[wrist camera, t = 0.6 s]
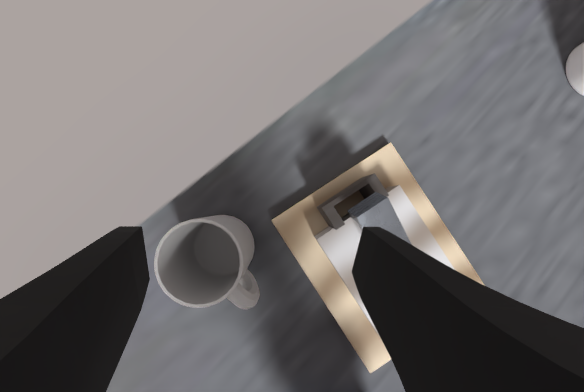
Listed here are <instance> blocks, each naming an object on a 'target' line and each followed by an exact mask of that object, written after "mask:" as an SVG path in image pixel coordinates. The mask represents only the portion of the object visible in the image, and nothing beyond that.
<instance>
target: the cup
mask: <svg viewBox="0 0 584 392" xmlns="http://www.w3.org/2000/svg"><path fill="white" fill-rule="evenodd" d="M254 249H255V245H254V238H253V235H252V232H251V231H250V229H249V228H248V226H247V225H246V224H245V223H243V222H242V221H241V220H239V219H237V218H235V217H233V216H228V215H215V216H209V217H203V218H197V219H191V220H188V221H185V222H182V223H179V224H178V225H176V226H175V227H173V228H172V229H170V230H169V231H168V232H167V233H166V234H165V236H164V237H163V238H162V239H161V241H160V243H159V245H158V247H157V249H156V254H155V259H154V267H155V274H156V277H157V280H158V283H159V285H160V286H161V288H162V289H163V291H164V292H165V294H167V295H168V296H169V297H170V298H171V299H172V300H174V301H175V302H177V303H180V304H182V305H184V306H188V307H194V308H201V307H209V306H212V305H214V304H217V303H219V302H221V301H222V300H224V299H225V298H228V300H229V301H231V302H232V303H233V304H234V305H235V306H237V307H239V308H241V309H249V308H252V307H254V306H255V305H256V304H257V301H258V299H259V296H260V290H259V287H258V284H257V282H256V280H255V278H254V276H253V275H252V273H251V272H250V271H249V270H248V269H247V268H248V266H249V264H250V262H251V260H252V258H253V254H254Z"/></svg>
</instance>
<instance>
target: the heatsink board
mask: <svg viewBox="0 0 584 392" xmlns="http://www.w3.org/2000/svg"><path fill="white" fill-rule="evenodd" d="M375 192H377V193H380V194H382V195H384V196H386V197H388V198H389V200H390V202H391V204H392V206H393V208H394V210H395V212H396V214H397V216H398V218H399V220H400V222H401V224H402V226H403V228H404V230H405V232H406V234H407V236H408V238H409V240H410V242H411V244H412V245H413V246H415V247H416V248H418V249H420V250H421V251H423V252H425V253H426V254H428V255H430V256H431V257H433V258H435V259H437V260H438V261H440V262H442V263H443V264H445V265H447V266H449V267H451V268H452V269H454V270H456V271H458V272H460V273H462V274H463V275H465V276H467V277H469V278H471V279H473V280H475V281H476V282H478V283H480V284H482V285H484V284H483V282H482V281H481V279H480V278H479V276H478V274H477V273H476V271H475V270H474V268H473V267H472V265H471V264H470V262H469V261H468V259H467V258H466V256H465V255H464V253H463V252H462V250H461V249H460V247H459V246H458V244H457V243H456V241H455V239H454V238H453V236H452V235H451V233H450V232H449V230H448V229H447V227H446V226H445V224H444V223H443V221H442V220H441V218H440V217H439V215H438V214H437V212H436V211H435V209H434V207H433V206H432V204H431V203H430V201H429V200H428V198H427V197H426V195H425V194H424V192H423V191H422V189H421V188H420V186H419V185H418V183H417V182H416V180H415V179H414V177H413V176H412V174H411V172H410V171H409V169H408V168H407V166H406V165H405V163H404V162H403V160H402V159H401V157H400V156H399V154H398V153H397V151H396V150H395V148H394V147H393V145H392V144H391V143H389V144H387V145H386V146H384V147H383V148H381V149H380V150H378V151H377V152H375V153H373V154H372V155H370V156H369V157H367V158H366V159H364V160H363V161H361V162H360V163H358V164H357V165H355V166H354V167H352V168H350V169H349V170H347V171H346V172H344V173H343V174H341V175H340V176H338V177H337V178H335V179H334V180H332V181H330V182H329V183H327V184H326V185H324V186H323V187H321V188H320V189H318V190H317V191H315V192H314V193H312V194H310V195H309V196H307V197H306V198H304V199H303V200H301V201H300V202H298V203H297V204H295V205H294V206H292V207H291V208H289V209H287V210H286V211H284V212H283V213H281V214H280V215H278V216H277V217H275V218H274V219H272V220H271V221H272V222H273V224H274V225H275V227H276V229H277V230H278V232H279V233H280V235H281V236H282V238H283V239H284V241H285V242H286V244H287V246H288V247H289V249H290V250H291V252H292V253H293V255H294V256H295V258H296V259H297V261H298V263H299V264H300V266H301V267H302V269H303V270H304V272H305V273H306V275H307V276H308V278H309V279H310V281H311V283H312V284H313V286H314V287H315V289H316V290H317V292H318V293H319V295H320V296H321V298H322V300H323V301H324V303H325V304H326V306H327V307H328V309H329V310H330V312H331V313H332V315H333V317H334V318H335V320H336V321H337V323H338V324H339V326H340V327H341V329H342V330H343V332H344V333H345V335H346V337H347V338H348V340H349V341H350V343H351V344H352V346H353V347H354V349H355V350H356V352H357V354H358V355H359V357H360V358H361V360H362V361H363V363H364V364H365V366H366V367H367V369H368V371H369V372H370V373H372V372H373V371H375V370H376V369H378V368H379V367H381V366H382V365H384V364H385V363H387V362H388V361H389V360H391V357H390V355H389V353H388V351H387V349H386V347H385V345H384V343H383V342H382V340H381V338H380V336H379V334H378V332H377V330H376V328H375V326H374V324H373V322H372V320H371V318H370V316H369V314H368V312H367V310H366V308H365V306H364V304H363V302H362V300H361V298H360V295H359V292H358V290H357V287H356V284H355V281H354V278H353V275H352V268H353V264H354V260H355V256H356V253H357V249H358V245H359V241H360V237H361V233H362V230H361V228H360V227H359V225H358V223H357V222H356V221H355V220H353V219H352V218H351V216H350V215H349V213H348V211H347V210H349V209H350V208H352V207H353V206H355V205H356V204H358V203H359V202H361V201H363V200H364V199H366V198H367V197H369V196H370V195H372V194H373V193H375ZM484 286H485V285H484Z"/></svg>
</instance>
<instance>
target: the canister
mask: <svg viewBox="0 0 584 392" xmlns="http://www.w3.org/2000/svg"><path fill="white" fill-rule="evenodd" d="M566 76H567V79H568V81H569V83H570V85H571V86H572V88H573V89H574V90H575V91H576V92H578V93H579V94H581V95H583V96H584V42H583V43H582V44H580V45H578V46H577V47H576V48H575V49H573V51H572V52H571V53H570V55H569V56H568V59H567V62H566Z"/></svg>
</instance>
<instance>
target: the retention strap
mask: <svg viewBox="0 0 584 392" xmlns="http://www.w3.org/2000/svg"><path fill="white" fill-rule="evenodd" d="M347 211H348V213H349V215H350V216H351V218H352V219H353V220H355V221H356V222H357V223H358V225H359V227H360V228H361V230H363V227H381V228H383V229H385V230H387V231H389V232H391V233H392V234H394V235H396V236H398V237H399V238H401V239H403V240H405V241H406V242H408V243H410V244H411V242H410V240H409V238H408V236H407V234H406V232H405V230H404V228H403V226H402V224H401V222H400V220H399V218H398V216H397V214H396V212H395V210H394V208H393V206H392V204H391V202H390V200H389V198H388V197H386V196H384V195H382V194H380V193H377V192H375V193H373V194H372V195H370V196H369V197H367V198H366V199H364V200H363V201H361V202H359V203H358V204H356V205H355V206H353V207H352V208H350V209H349V210H347ZM411 245H412V244H411Z"/></svg>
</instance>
